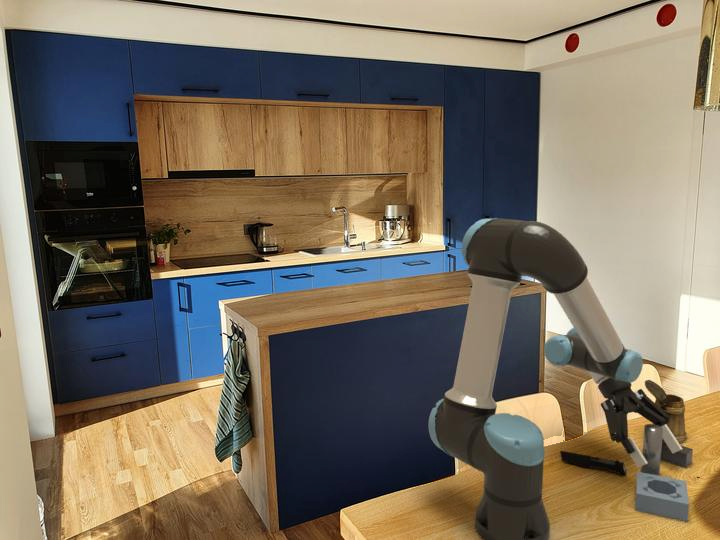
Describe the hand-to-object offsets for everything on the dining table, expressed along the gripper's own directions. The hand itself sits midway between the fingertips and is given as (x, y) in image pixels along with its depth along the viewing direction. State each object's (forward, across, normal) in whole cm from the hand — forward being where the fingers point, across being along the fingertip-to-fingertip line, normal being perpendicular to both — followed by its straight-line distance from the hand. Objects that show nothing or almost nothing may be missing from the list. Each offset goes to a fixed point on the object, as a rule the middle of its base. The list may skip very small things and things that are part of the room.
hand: (660, 458), depth 137 cm
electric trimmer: (-4, +9, -12) cm, 16 cm away
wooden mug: (-5, -20, -13) cm, 24 cm away
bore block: (+8, +10, +1) cm, 13 cm away
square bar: (0, -10, -7) cm, 13 cm away
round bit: (+2, 0, -5) cm, 6 cm away
